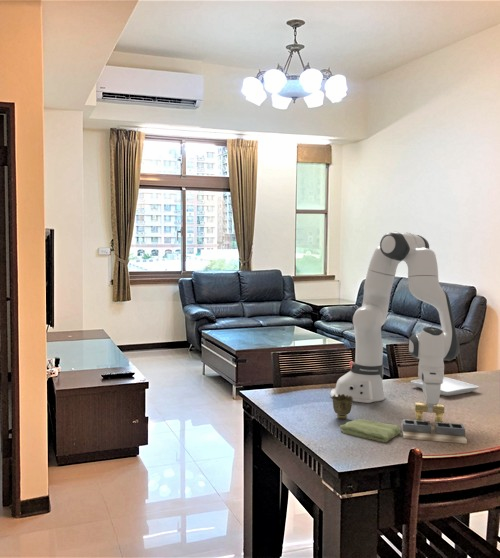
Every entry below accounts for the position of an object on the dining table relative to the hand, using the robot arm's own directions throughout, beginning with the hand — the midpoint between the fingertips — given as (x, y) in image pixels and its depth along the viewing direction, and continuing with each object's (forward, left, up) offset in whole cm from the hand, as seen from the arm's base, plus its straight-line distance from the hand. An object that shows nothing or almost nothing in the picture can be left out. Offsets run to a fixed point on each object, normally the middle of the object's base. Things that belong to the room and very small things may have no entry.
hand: (429, 410), depth 205 cm
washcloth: (-21, -17, -5) cm, 27 cm away
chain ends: (0, -13, -4) cm, 14 cm away
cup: (-31, -4, -4) cm, 32 cm away
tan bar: (0, 0, -4) cm, 4 cm away
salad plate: (+11, +48, -5) cm, 49 cm away
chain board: (0, -13, -4) cm, 14 cm away
